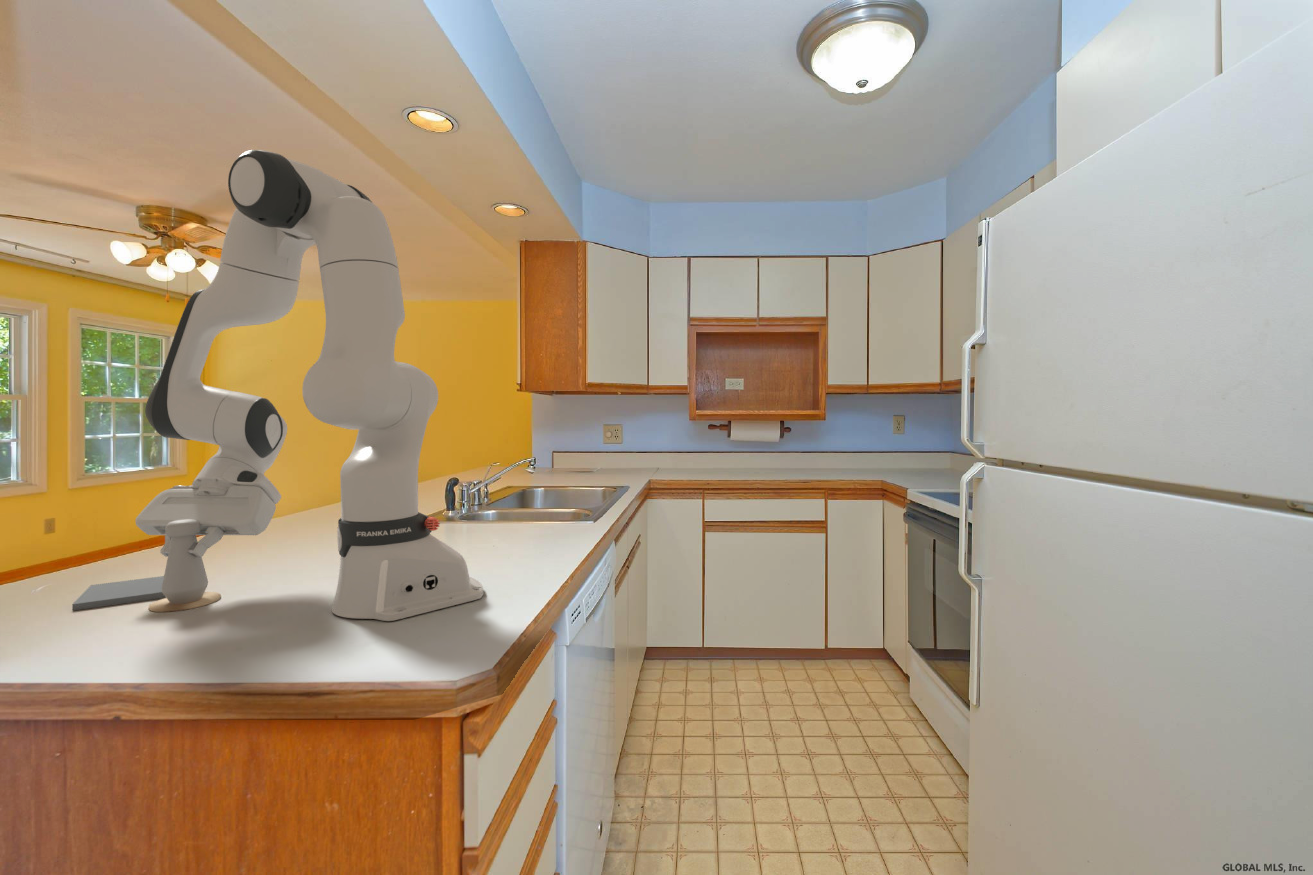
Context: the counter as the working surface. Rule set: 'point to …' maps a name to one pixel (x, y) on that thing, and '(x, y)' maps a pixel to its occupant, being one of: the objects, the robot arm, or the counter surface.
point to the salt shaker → (183, 564)
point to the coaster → (165, 605)
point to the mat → (120, 593)
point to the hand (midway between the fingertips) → (180, 555)
